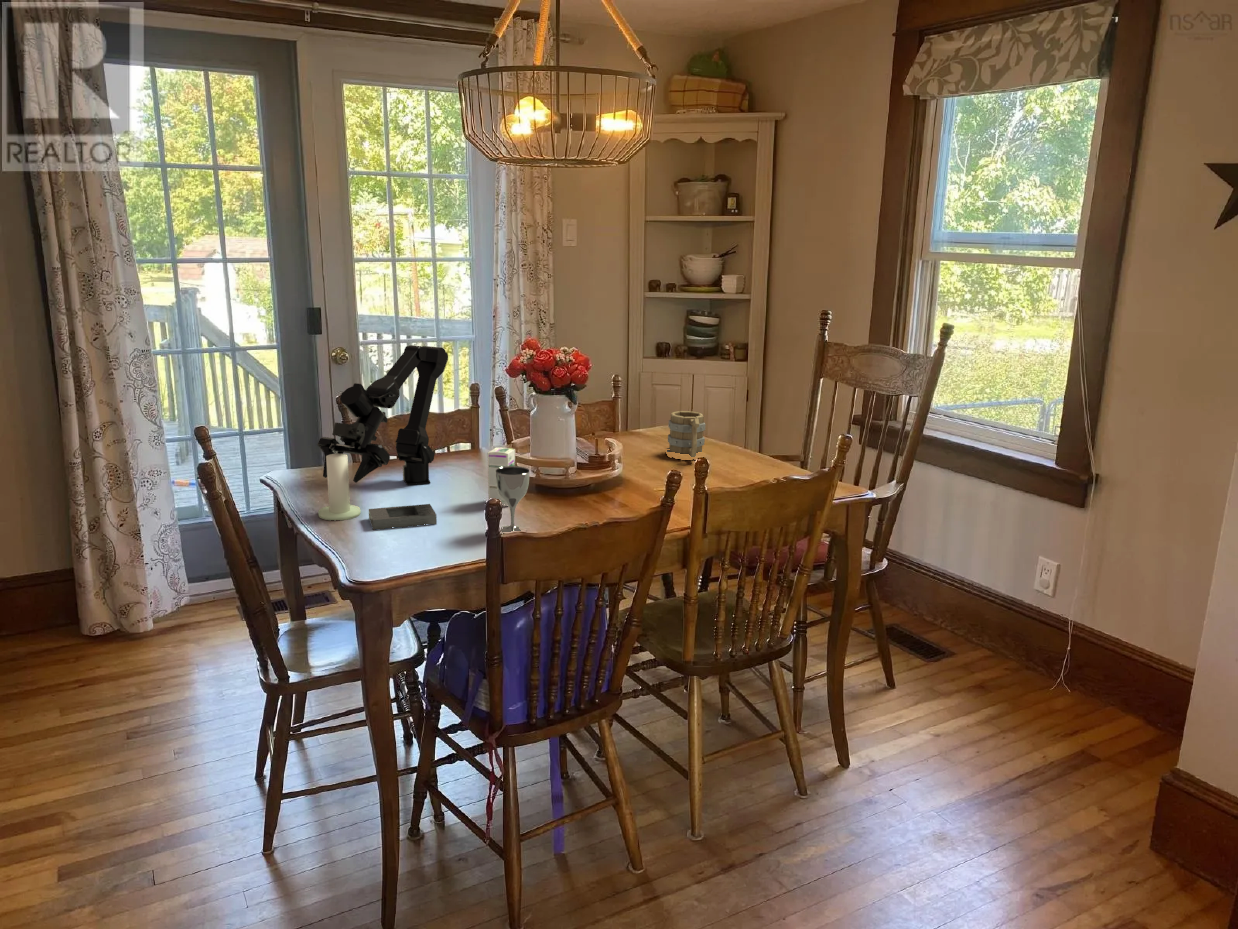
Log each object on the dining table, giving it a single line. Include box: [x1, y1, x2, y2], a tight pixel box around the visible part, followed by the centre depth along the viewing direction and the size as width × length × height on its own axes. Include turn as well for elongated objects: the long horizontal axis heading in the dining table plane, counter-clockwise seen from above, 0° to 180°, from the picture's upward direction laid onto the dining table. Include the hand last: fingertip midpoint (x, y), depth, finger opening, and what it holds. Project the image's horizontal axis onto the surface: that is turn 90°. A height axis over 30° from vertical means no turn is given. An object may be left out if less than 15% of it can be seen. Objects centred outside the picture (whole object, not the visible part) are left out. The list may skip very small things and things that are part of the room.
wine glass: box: [496, 465, 530, 532], centre depth 212 cm, size 8×8×15 cm
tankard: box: [666, 410, 706, 457], centre depth 284 cm, size 20×13×15 cm, turn 6°
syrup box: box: [487, 447, 516, 507], centre depth 233 cm, size 6×6×14 cm
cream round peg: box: [326, 453, 351, 514], centre depth 219 cm, size 5×5×14 cm
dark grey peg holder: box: [368, 503, 438, 531], centre depth 217 cm, size 15×9×2 cm, turn 112°
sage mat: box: [318, 504, 361, 522], centre depth 221 cm, size 10×10×1 cm
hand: (339, 479), depth 220 cm, fingers open, 9 cm apart
